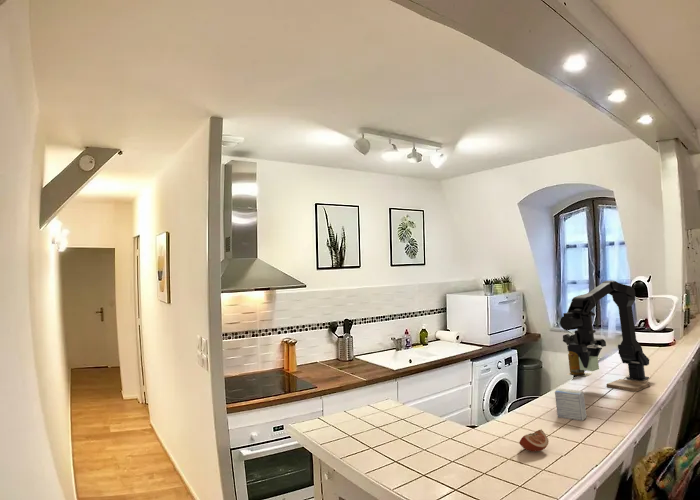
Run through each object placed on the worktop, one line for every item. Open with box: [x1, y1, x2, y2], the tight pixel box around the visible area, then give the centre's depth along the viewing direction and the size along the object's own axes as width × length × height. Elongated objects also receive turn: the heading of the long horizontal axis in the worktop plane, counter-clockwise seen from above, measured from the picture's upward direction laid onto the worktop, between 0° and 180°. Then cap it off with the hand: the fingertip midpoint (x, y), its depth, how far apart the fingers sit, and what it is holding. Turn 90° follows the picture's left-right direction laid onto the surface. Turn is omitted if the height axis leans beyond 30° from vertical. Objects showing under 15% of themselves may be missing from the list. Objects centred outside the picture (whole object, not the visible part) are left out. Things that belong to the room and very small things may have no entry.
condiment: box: [567, 351, 592, 377], centre depth 201 cm, size 7×8×12 cm
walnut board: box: [606, 378, 650, 392], centre depth 175 cm, size 11×11×1 cm
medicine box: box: [554, 388, 587, 422], centre depth 144 cm, size 8×4×9 cm, turn 47°
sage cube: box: [579, 356, 600, 372], centre depth 176 cm, size 5×5×5 cm
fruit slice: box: [518, 428, 550, 453], centre depth 120 cm, size 8×7×5 cm
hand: (589, 366), depth 176 cm, fingers closed on sage cube, 5 cm apart
